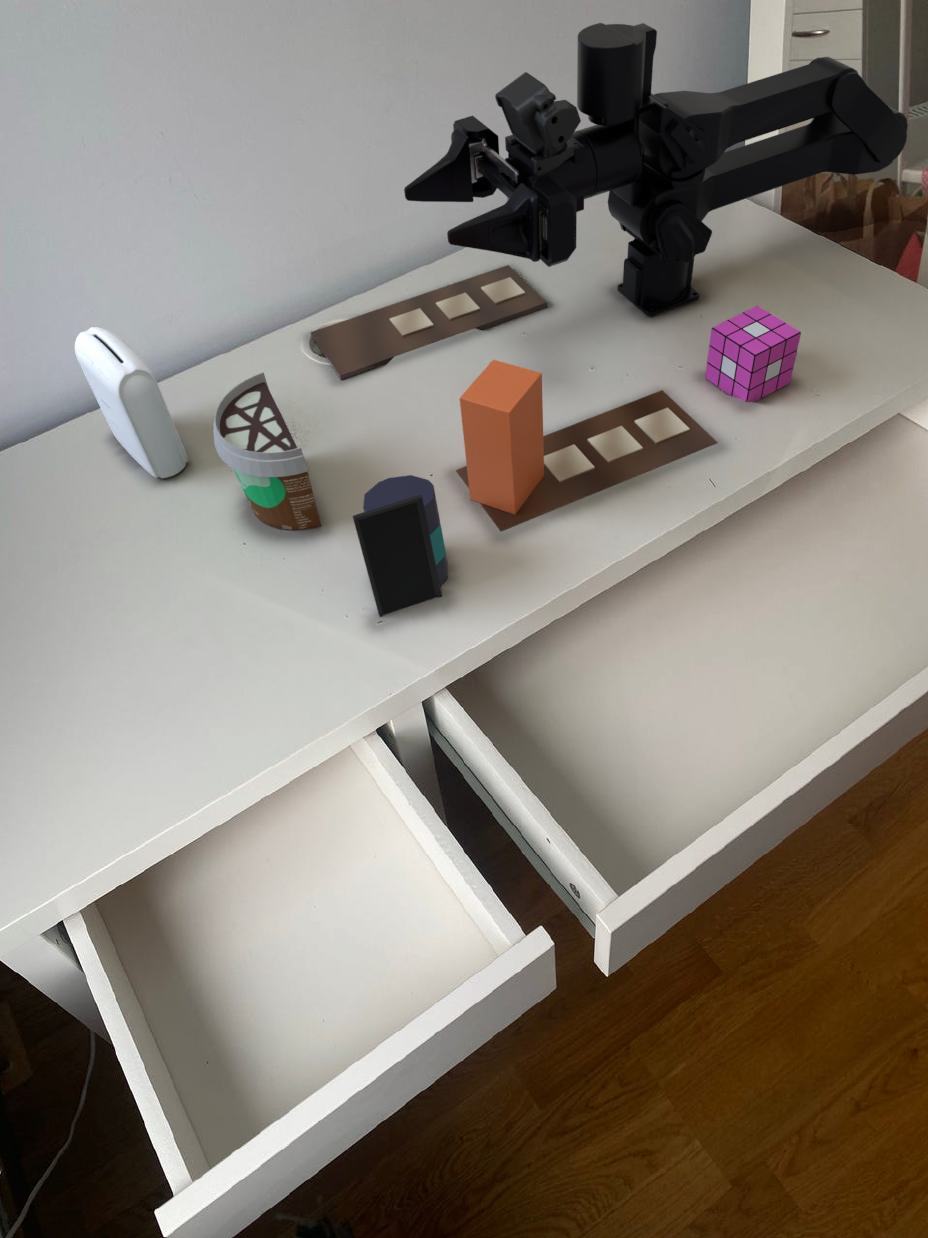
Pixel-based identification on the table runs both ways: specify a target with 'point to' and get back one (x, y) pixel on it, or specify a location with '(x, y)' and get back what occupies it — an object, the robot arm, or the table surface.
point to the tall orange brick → (503, 435)
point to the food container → (265, 457)
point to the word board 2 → (606, 454)
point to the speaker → (402, 542)
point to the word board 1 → (426, 320)
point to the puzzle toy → (752, 354)
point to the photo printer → (131, 401)
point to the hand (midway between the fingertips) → (426, 215)
